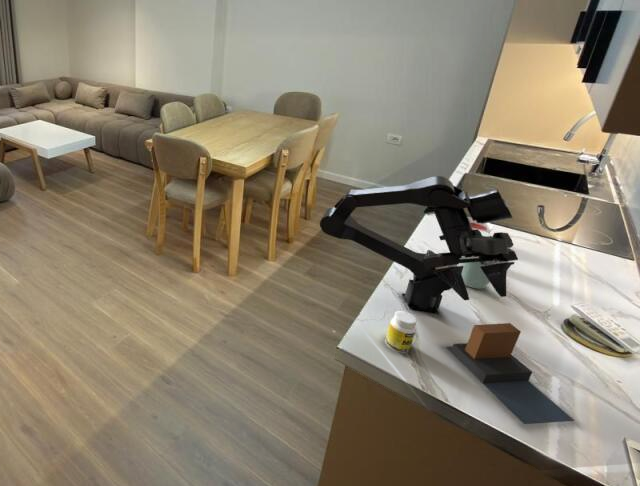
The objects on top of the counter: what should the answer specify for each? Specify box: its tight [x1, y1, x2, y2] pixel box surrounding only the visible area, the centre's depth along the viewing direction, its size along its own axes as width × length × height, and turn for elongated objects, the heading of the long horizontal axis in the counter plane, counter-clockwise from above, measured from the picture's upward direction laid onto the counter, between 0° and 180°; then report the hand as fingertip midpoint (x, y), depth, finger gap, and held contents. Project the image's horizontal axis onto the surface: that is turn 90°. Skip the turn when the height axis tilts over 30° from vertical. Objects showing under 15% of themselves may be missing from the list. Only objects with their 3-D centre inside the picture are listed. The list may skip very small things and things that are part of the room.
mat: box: [445, 346, 575, 425], centre depth 81 cm, size 18×10×1 cm, turn 3°
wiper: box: [450, 322, 533, 384], centre depth 83 cm, size 8×10×9 cm
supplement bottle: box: [384, 310, 417, 354], centre depth 89 cm, size 5×5×8 cm
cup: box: [457, 256, 491, 289], centre depth 109 cm, size 8×8×10 cm
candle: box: [467, 216, 494, 235], centre depth 131 cm, size 9×9×6 cm
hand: (485, 298), depth 86 cm, fingers open, 9 cm apart
